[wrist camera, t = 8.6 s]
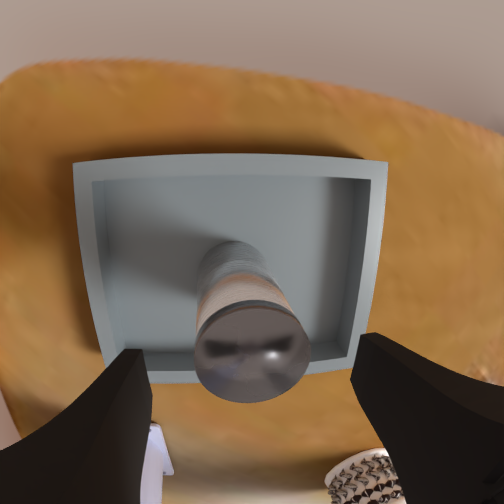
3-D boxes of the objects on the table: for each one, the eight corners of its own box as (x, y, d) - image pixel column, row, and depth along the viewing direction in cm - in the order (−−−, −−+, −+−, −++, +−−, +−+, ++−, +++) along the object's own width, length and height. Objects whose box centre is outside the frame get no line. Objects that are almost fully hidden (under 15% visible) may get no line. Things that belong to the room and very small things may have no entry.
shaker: (206, 313, 19) (210, 411, 11) (189, 248, 17) (179, 325, 10) (273, 298, 19) (314, 388, 11) (262, 233, 17) (306, 298, 10)
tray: (117, 358, 19) (110, 381, 17) (90, 160, 15) (72, 163, 13) (344, 346, 22) (357, 366, 19) (366, 159, 18) (388, 162, 15)
